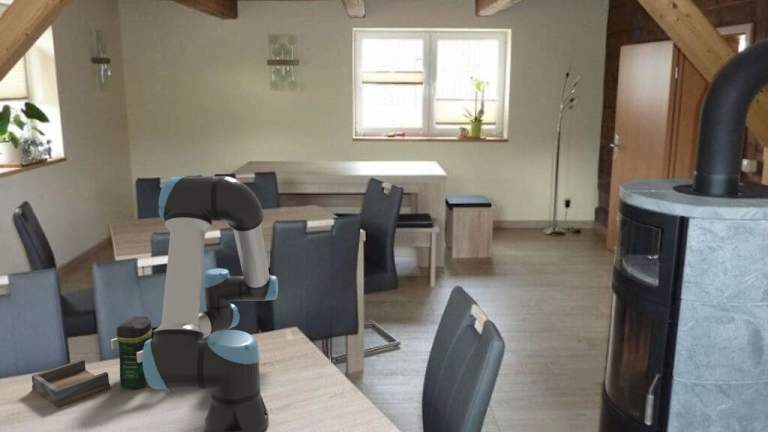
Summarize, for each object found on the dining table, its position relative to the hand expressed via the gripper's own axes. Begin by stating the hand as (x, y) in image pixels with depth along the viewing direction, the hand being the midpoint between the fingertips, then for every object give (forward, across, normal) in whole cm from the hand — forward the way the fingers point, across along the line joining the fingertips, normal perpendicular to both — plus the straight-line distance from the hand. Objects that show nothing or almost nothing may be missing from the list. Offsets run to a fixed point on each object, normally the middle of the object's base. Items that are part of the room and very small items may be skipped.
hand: (124, 351), depth 176 cm
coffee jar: (-3, 0, -11) cm, 11 cm away
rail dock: (+11, +10, -10) cm, 18 cm away
